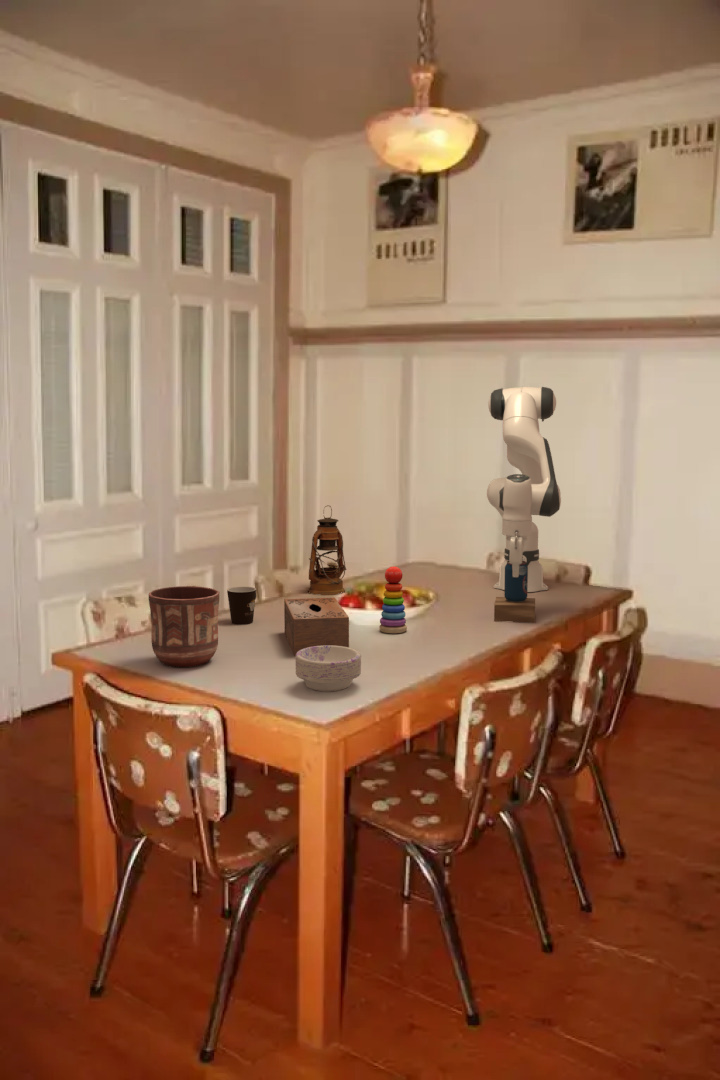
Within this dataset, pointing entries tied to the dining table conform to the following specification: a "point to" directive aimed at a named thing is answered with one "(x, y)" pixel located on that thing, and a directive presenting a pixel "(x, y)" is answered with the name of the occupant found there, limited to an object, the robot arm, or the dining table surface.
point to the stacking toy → (393, 604)
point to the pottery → (184, 625)
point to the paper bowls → (328, 667)
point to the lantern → (328, 537)
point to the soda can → (516, 583)
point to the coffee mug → (241, 604)
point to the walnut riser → (514, 610)
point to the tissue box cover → (315, 623)
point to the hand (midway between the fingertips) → (515, 573)
